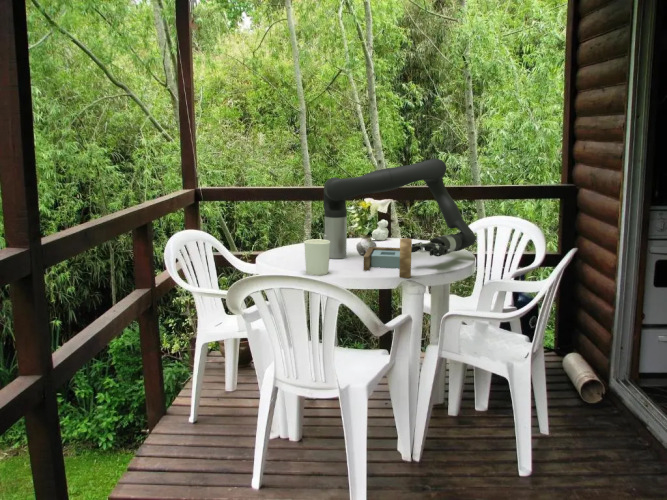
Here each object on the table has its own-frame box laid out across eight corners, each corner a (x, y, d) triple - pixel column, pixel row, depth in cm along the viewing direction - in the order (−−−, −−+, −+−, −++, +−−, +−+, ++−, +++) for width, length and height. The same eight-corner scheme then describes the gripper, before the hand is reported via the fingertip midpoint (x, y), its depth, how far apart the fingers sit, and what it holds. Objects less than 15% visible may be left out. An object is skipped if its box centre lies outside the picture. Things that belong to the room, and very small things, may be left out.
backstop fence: (363, 270, 252) (363, 256, 251) (369, 259, 271) (369, 246, 270) (406, 272, 249) (406, 257, 248) (408, 261, 269) (409, 248, 268)
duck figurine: (373, 246, 314) (385, 229, 308) (363, 235, 317) (375, 218, 311) (387, 243, 323) (399, 226, 317) (377, 232, 326) (389, 215, 320)
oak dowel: (398, 277, 240) (399, 240, 237) (399, 275, 244) (400, 238, 241) (410, 278, 239) (411, 240, 236) (411, 275, 243) (412, 238, 240)
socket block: (371, 268, 257) (371, 255, 256) (374, 262, 269) (374, 250, 268) (401, 269, 255) (402, 256, 254) (403, 263, 267) (403, 251, 266)
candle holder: (302, 270, 251) (301, 239, 249) (327, 269, 253) (327, 238, 251) (306, 276, 242) (306, 244, 239) (332, 275, 244) (333, 243, 242)
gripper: (427, 234, 264) (405, 239, 252) (459, 238, 255) (437, 243, 243) (426, 252, 265) (404, 258, 253) (458, 257, 256) (437, 263, 244)
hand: (420, 251), depth 248 cm, fingers open, 8 cm apart
